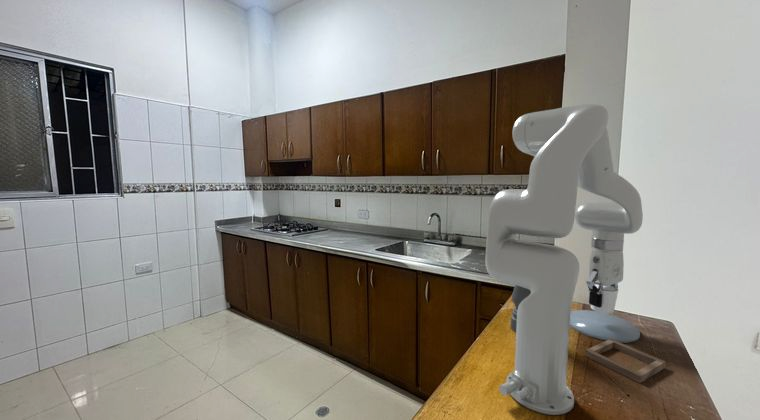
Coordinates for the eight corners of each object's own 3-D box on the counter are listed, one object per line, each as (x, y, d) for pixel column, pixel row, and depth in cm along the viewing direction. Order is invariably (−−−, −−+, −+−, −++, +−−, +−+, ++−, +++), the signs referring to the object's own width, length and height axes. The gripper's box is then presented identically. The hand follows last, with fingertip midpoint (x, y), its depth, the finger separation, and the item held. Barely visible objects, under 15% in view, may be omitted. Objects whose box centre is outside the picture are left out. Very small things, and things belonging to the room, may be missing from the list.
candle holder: (534, 327, 92) (538, 245, 89) (532, 336, 87) (536, 249, 84) (512, 322, 96) (515, 243, 93) (508, 330, 90) (512, 247, 88)
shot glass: (621, 315, 88) (623, 291, 87) (594, 313, 89) (596, 290, 88) (609, 305, 94) (610, 283, 94) (584, 303, 96) (585, 282, 95)
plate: (618, 349, 80) (618, 345, 80) (552, 320, 96) (553, 317, 96) (652, 332, 88) (652, 329, 88) (586, 308, 104) (587, 306, 104)
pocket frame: (639, 383, 67) (640, 376, 67) (585, 355, 77) (585, 349, 77) (664, 368, 72) (665, 361, 72) (610, 344, 83) (610, 338, 82)
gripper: (604, 250, 82) (599, 314, 84) (637, 243, 90) (632, 302, 92) (575, 245, 89) (571, 304, 91) (609, 238, 97) (605, 293, 99)
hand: (602, 302), depth 92 cm, fingers closed on shot glass, 6 cm apart
